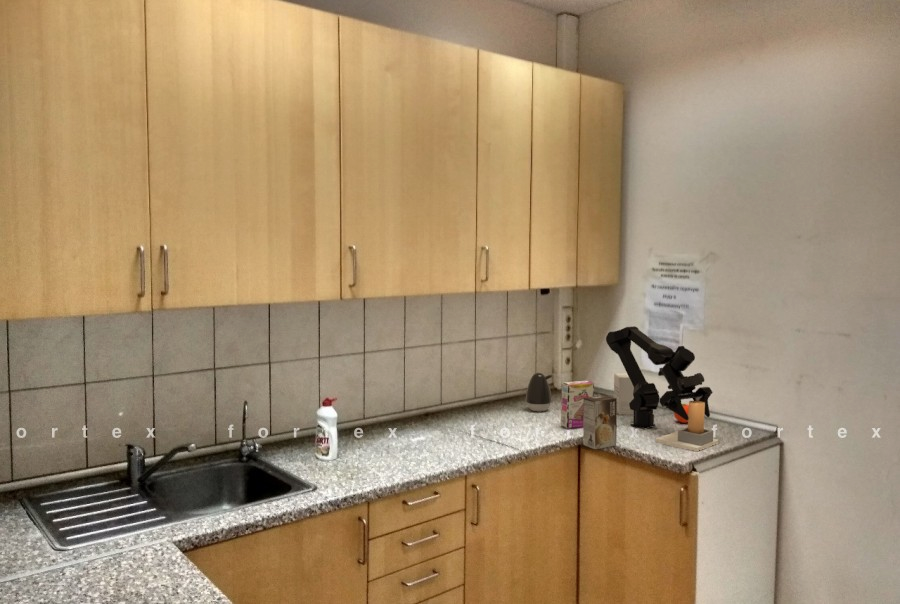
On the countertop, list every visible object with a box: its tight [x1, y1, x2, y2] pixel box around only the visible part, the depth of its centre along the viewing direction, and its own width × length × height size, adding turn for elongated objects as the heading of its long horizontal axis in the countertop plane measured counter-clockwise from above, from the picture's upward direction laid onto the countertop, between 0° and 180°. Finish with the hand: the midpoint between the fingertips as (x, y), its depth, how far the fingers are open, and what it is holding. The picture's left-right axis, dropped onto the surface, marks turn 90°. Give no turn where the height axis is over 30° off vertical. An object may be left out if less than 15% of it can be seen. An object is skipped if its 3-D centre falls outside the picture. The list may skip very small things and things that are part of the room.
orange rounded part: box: [687, 400, 705, 434], centre depth 237 cm, size 5×5×13 cm
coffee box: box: [582, 394, 618, 450], centre depth 236 cm, size 9×6×16 cm
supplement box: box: [613, 372, 634, 416], centre depth 282 cm, size 9×9×15 cm
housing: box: [655, 426, 720, 452], centre depth 240 cm, size 15×14×5 cm
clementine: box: [673, 403, 689, 424], centre depth 267 cm, size 8×7×7 cm
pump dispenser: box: [525, 372, 553, 413], centre depth 286 cm, size 10×10×15 cm
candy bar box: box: [560, 380, 595, 430], centre depth 261 cm, size 11×5×16 cm, turn 113°
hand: (698, 418), depth 236 cm, fingers open, 9 cm apart
